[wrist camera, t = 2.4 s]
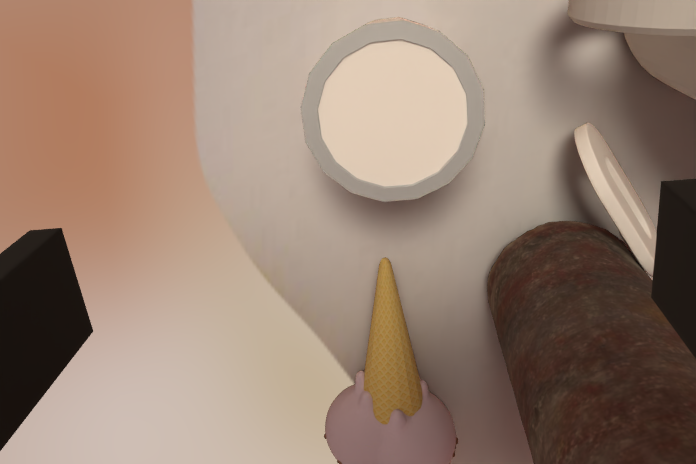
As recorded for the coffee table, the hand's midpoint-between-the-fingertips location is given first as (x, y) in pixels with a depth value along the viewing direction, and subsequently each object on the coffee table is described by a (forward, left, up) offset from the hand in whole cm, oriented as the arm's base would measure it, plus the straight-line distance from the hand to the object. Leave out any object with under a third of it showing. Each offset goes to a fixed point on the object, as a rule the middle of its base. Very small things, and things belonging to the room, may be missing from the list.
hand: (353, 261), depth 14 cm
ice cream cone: (+7, 0, -15) cm, 17 cm away
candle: (+10, +8, -18) cm, 22 cm away
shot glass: (0, +1, -18) cm, 18 cm away
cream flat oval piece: (+5, +11, -18) cm, 22 cm away
